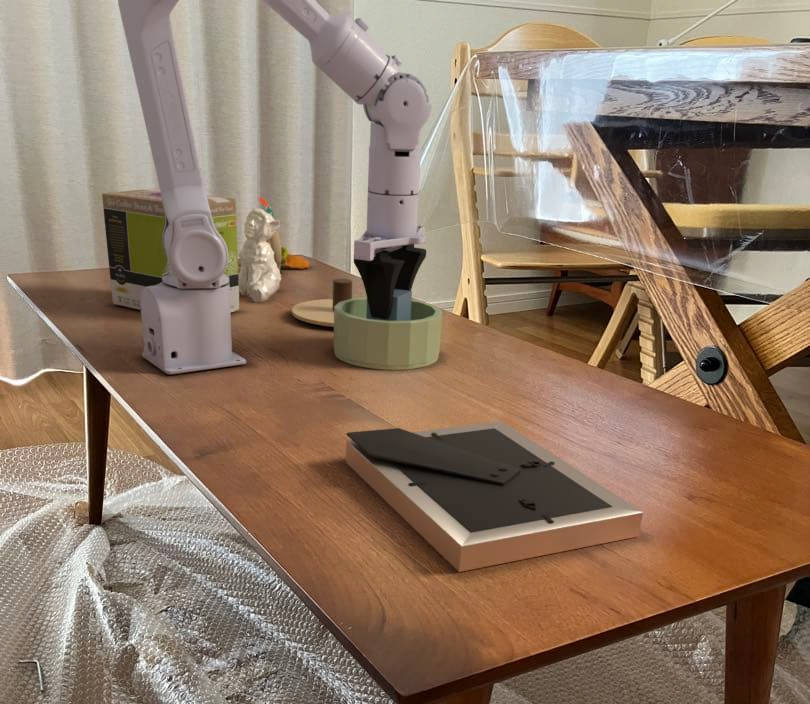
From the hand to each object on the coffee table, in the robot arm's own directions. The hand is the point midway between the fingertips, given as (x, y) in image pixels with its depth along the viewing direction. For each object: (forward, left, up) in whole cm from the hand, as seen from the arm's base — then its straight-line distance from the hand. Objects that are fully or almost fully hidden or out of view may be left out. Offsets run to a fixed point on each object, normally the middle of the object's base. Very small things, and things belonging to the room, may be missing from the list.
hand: (388, 313), depth 108 cm
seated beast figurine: (0, +35, -5) cm, 35 cm away
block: (0, 0, -1) cm, 1 cm away
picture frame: (-16, -38, -5) cm, 42 cm away
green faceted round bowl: (0, 0, -5) cm, 5 cm away
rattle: (+12, +48, -5) cm, 50 cm away
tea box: (-14, +31, -5) cm, 34 cm away
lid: (+4, +17, -4) cm, 18 cm away
